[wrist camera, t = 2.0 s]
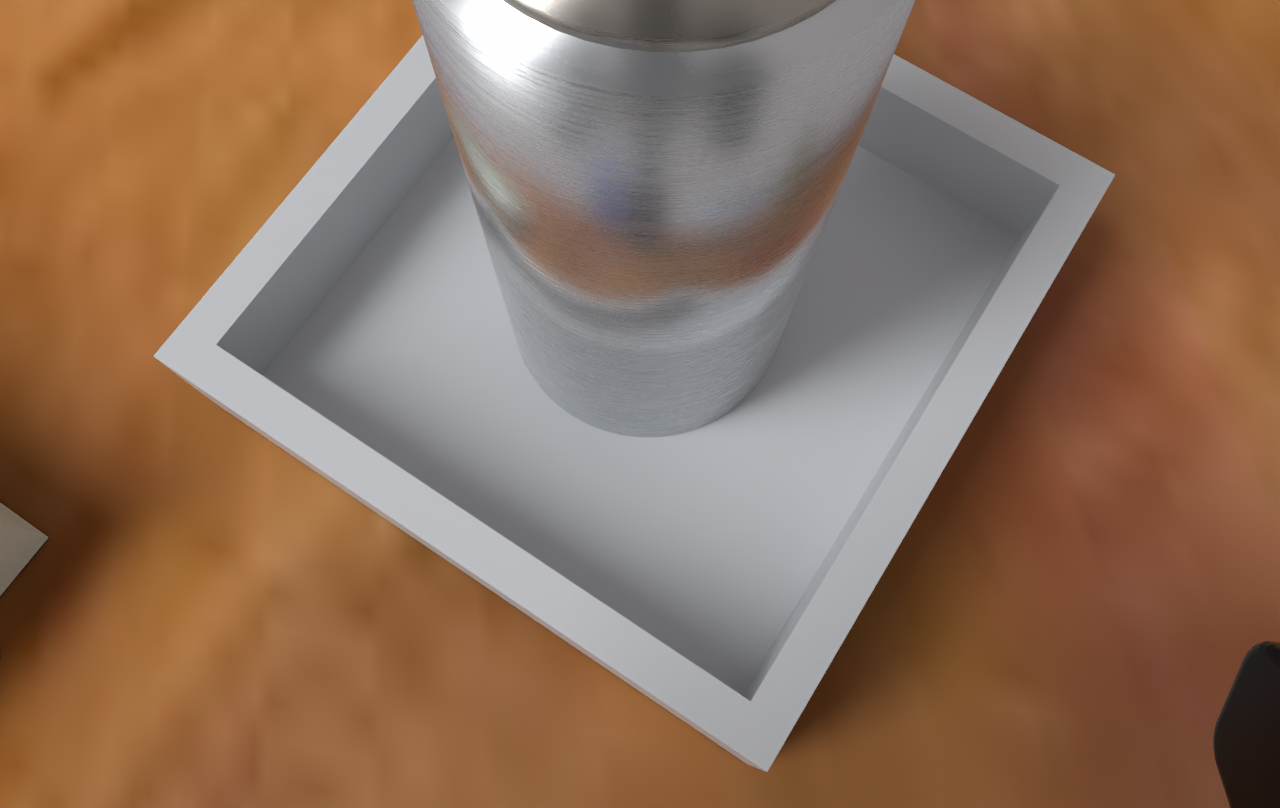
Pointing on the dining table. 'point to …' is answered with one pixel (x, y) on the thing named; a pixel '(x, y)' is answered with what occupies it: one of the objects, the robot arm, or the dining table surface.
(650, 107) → the brushed metal cylinder
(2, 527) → the sage bin
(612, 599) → the grey bin
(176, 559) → the dining table surface
